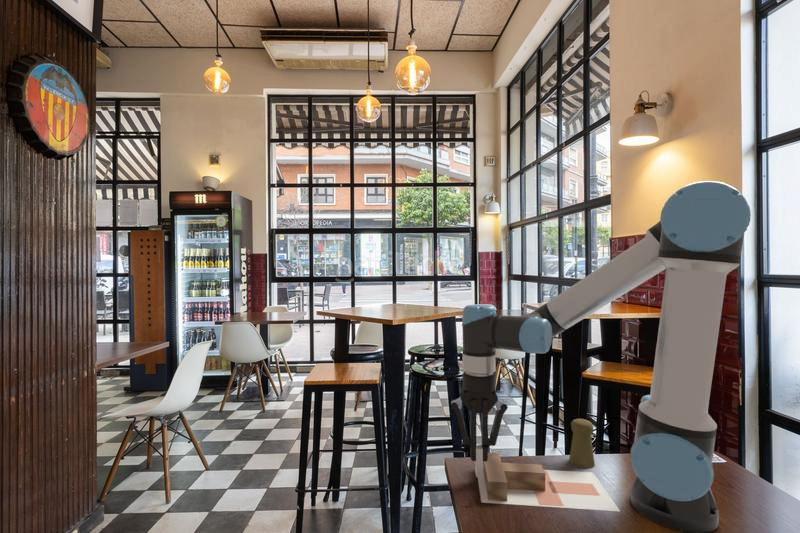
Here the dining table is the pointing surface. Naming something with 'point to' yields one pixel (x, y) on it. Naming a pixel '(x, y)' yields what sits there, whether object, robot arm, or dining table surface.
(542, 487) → the t block
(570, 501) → the mat
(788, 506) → the dining table surface
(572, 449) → the olive pepper mill
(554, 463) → the dining table surface
